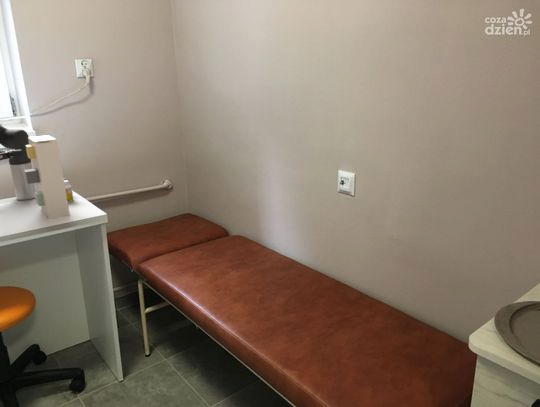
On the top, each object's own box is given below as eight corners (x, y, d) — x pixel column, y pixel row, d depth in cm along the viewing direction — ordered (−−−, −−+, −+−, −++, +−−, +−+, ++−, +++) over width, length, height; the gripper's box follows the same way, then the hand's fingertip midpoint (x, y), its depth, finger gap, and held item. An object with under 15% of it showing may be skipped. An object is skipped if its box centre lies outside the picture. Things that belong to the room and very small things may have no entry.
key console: (41, 209, 194) (27, 137, 185) (60, 205, 199) (48, 135, 189) (49, 218, 180) (34, 141, 171) (69, 214, 185) (56, 139, 175)
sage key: (36, 203, 187) (34, 192, 186) (53, 200, 191) (51, 189, 189) (39, 206, 182) (36, 194, 181) (56, 203, 186) (53, 191, 185)
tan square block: (27, 157, 181) (25, 145, 180) (44, 155, 185) (42, 143, 184) (30, 159, 177) (27, 146, 175) (47, 156, 180) (45, 144, 179)
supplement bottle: (58, 202, 204) (54, 182, 201) (67, 199, 209) (64, 179, 206) (67, 203, 202) (63, 182, 199) (76, 200, 207) (72, 180, 204)
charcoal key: (25, 181, 183) (23, 169, 181) (42, 178, 186) (40, 167, 185) (28, 184, 178) (25, 172, 177) (45, 181, 182) (43, 169, 180)
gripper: (-30, 150, 161) (23, 145, 171) (-32, 146, 172) (18, 141, 181) (-26, 170, 163) (26, 163, 173) (-28, 165, 174) (21, 159, 183)
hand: (22, 152), depth 177 cm, fingers closed
